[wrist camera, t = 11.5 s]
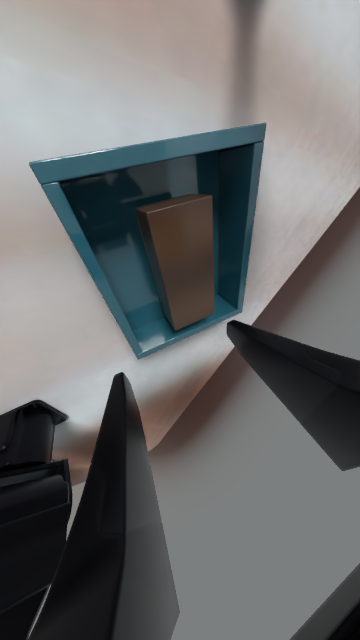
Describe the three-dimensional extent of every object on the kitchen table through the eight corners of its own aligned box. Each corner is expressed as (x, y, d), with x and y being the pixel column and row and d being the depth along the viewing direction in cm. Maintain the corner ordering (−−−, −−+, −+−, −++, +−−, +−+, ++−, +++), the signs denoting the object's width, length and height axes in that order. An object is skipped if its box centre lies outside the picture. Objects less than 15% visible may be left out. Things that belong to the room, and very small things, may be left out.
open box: (220, 295, 24) (242, 312, 21) (129, 333, 21) (138, 360, 18) (223, 137, 14) (267, 122, 10) (43, 169, 11) (27, 162, 8)
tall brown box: (192, 291, 21) (214, 313, 17) (158, 305, 20) (175, 331, 16) (180, 192, 14) (212, 194, 11) (128, 205, 13) (145, 212, 10)
